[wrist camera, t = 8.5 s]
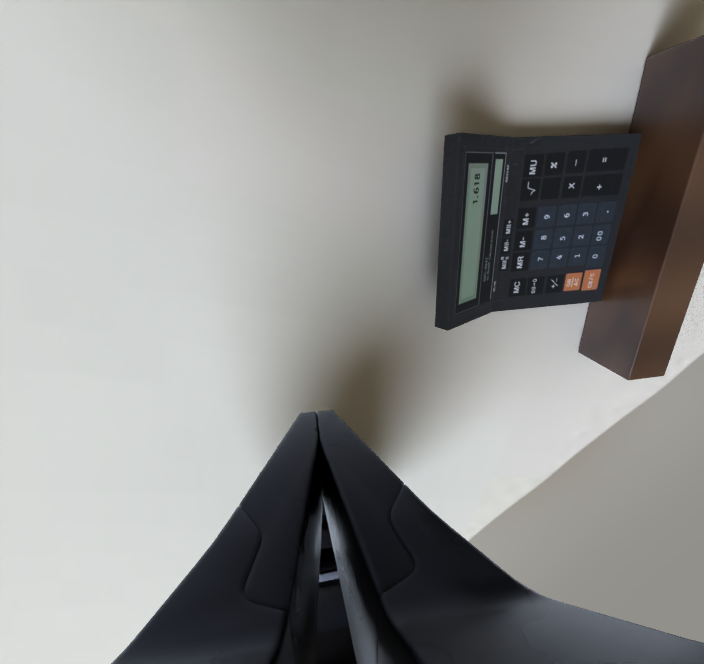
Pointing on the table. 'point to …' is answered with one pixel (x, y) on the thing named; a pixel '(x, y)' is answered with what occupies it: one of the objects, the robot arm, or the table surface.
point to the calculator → (528, 221)
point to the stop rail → (656, 223)
